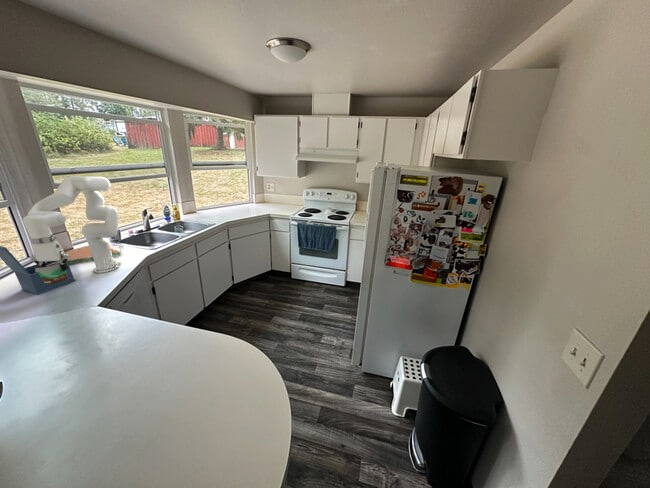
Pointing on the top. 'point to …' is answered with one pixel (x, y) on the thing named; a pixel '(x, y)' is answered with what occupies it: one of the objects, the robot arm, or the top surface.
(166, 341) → the top surface
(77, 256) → the tan flat block
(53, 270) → the food container
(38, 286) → the blue bin
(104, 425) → the top surface
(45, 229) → the robot arm
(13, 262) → the freezer lid
